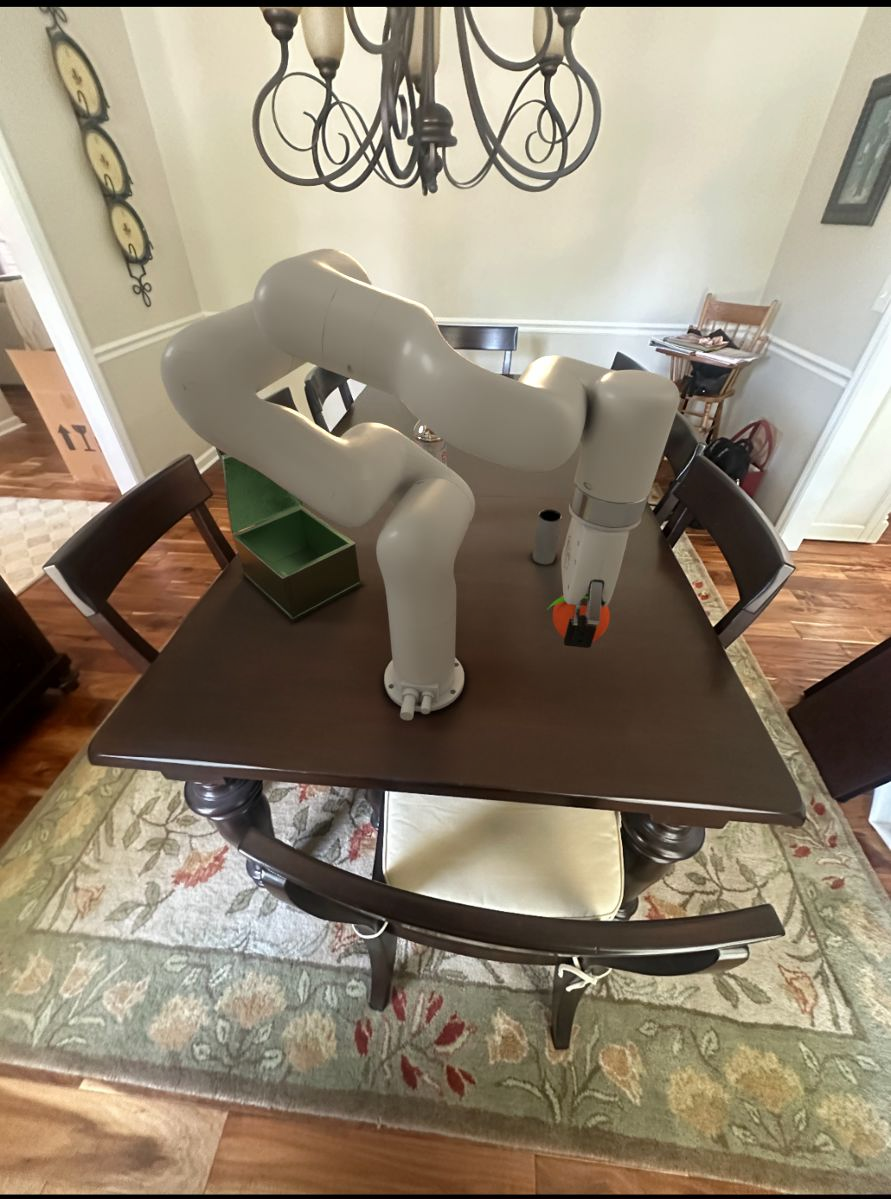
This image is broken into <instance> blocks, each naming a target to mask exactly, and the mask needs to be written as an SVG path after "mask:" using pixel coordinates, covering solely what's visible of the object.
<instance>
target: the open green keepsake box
mask: <svg viewBox="0 0 891 1199" xmlns="http://www.w3.org/2000/svg"><path fill="white" fill-rule="evenodd" d="M232 540H233V542H234V545H235V548H236V552H237V554H238V558H239V561H240V564H241V567H242V570H243V573H244V577H245V578H246V579H247V580H249V582H250V583H252V584H253V585H254V587H256V588H257V589H258V590H259V591H260V592H261V593H262V594H263V595H264V596H265V597H266V598H267V599H268V600H270V601H271V602H272V603H273V605H275V606H276V607H277V608H278V609H279V610H280V611H282V613H283V614H285V615H286V616H287V617H288V618H289V619H290V620H291V621H292V622H293V623H294V622H296V621H298V620H300V619H302V618H304V617H306V616H307V615H309V614H311V613H312V612H315V611H316V610H318V609H320V608H322V607H324V606H326V605H327V604H329V603H332V602H333V601H336V600H337V599H338V598H340V597H342V596H344V595H346V594H348V593H350V592H352V591H354V590H355V589H357V588H359V587H360V586H362V585H361V576H360V571H359V570H360V569H359V562H358V554H357V546H356V542H354V541H353V540H351V539H350V538H348V537H347V536H346V535H344V534H342V533H341V532H340V531H338V530H337V529H336V528H334V527H333V526H331V525H330V524H328V523H327V522H325V521H324V520H323V519H321V518H319V517H318V516H317V515H315V514H314V513H312V512H311V511H310V510H309V509H307V508H305V507H304V506H303V505H301V506H299V507H297V508H294V509H292V510H289V511H287V512H284V513H282V514H279V515H277V516H275V517H272V518H270V519H267V520H265V521H262V522H260V523H258V524H255V525H253V526H250V527H248V528H245V529H243V530H241V531H238V532H236V533H233V534H232Z"/></svg>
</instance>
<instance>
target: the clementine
mask: <svg viewBox="0 0 891 1199" xmlns="http://www.w3.org/2000/svg"><path fill="white" fill-rule="evenodd" d="M583 598H586V599H588V594H586V595H585V596H584V597H583ZM553 606H554V607H553ZM551 607H553V610H552V622H553V625H554V628H555V630H556V631H557V633H558V634H559V635H560V636H561V637H562V638H563V639H564V638H565V634H566V630H567V626H568V622H569V619H572V618H573V611H574V605H573V604H567V602H566V601H565V599H564V595H562V594H561V596H560V597H558V598H557V599H555V600H554V601H553V602H551V604H550V605H549V607H548V608H547V609H546V611H549V610H550V608H551ZM586 612H587V606H583V605H581V607H580V614H579V616H580V615H585V614H586ZM610 618H611V613H610V609H609V604H608V605H607V606H606V607H604V608H602V606H601V612H600V623H599V625H598V626H597V628H596V631H595V635H594V638H593V641H592V643H593V642H595V641H597V640H598V639H599V638H601V637H602V636H603V635H604V634H605V632H606V631H607V629H608V628H609V626H610V625H609V624H610Z"/></svg>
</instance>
